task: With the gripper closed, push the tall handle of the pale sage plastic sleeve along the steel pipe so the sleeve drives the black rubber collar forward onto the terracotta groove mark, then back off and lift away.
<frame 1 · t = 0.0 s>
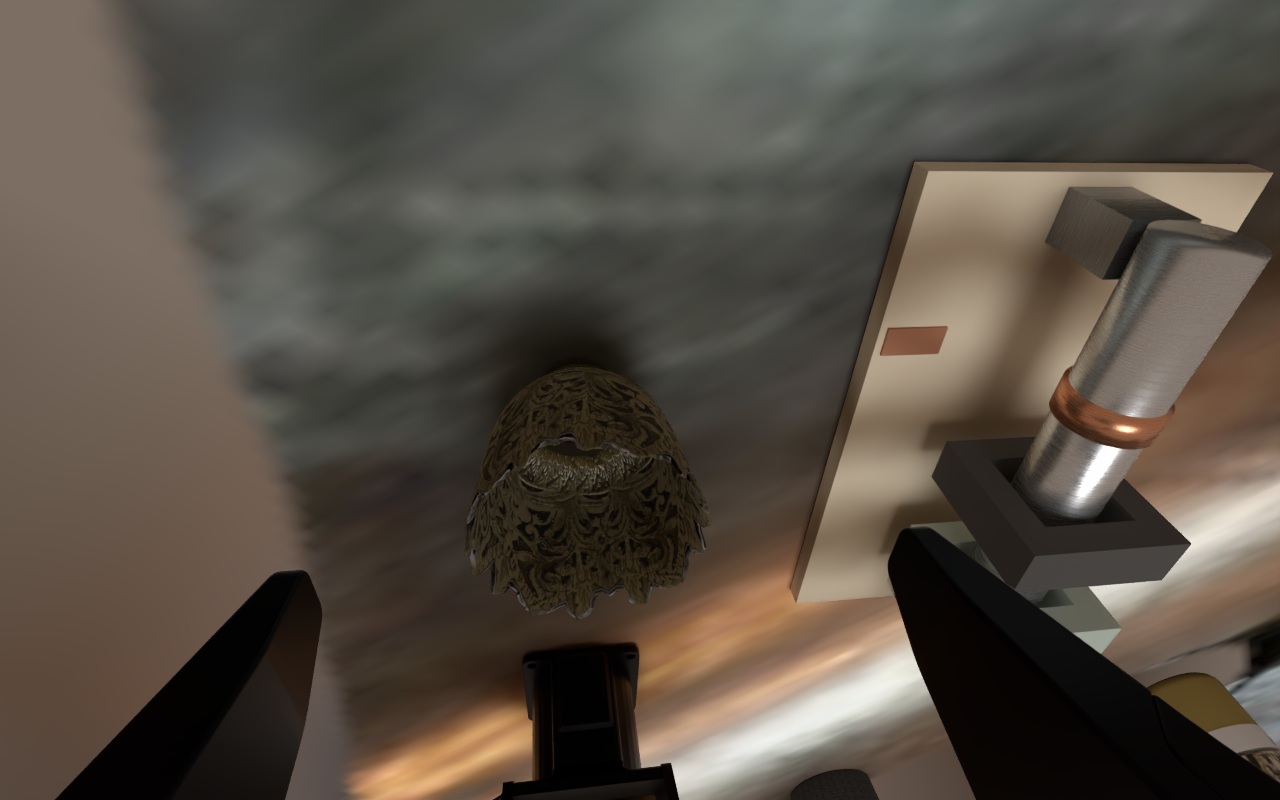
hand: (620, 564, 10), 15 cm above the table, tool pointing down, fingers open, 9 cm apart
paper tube: (1165, 689, 50), on the table
sleeve: (1011, 631, 28), point 7 cm above the table, slide at -6.0 cm
coffee cup: (829, 785, 53), on the table
rubber collar: (1048, 506, 25), point 6 cm above the table, slide at 0.0 cm
base board: (973, 419, 30), on the table
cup: (576, 387, 26), on the table
steel pipe: (1026, 481, 27), on the base board, point 4 cm above the table
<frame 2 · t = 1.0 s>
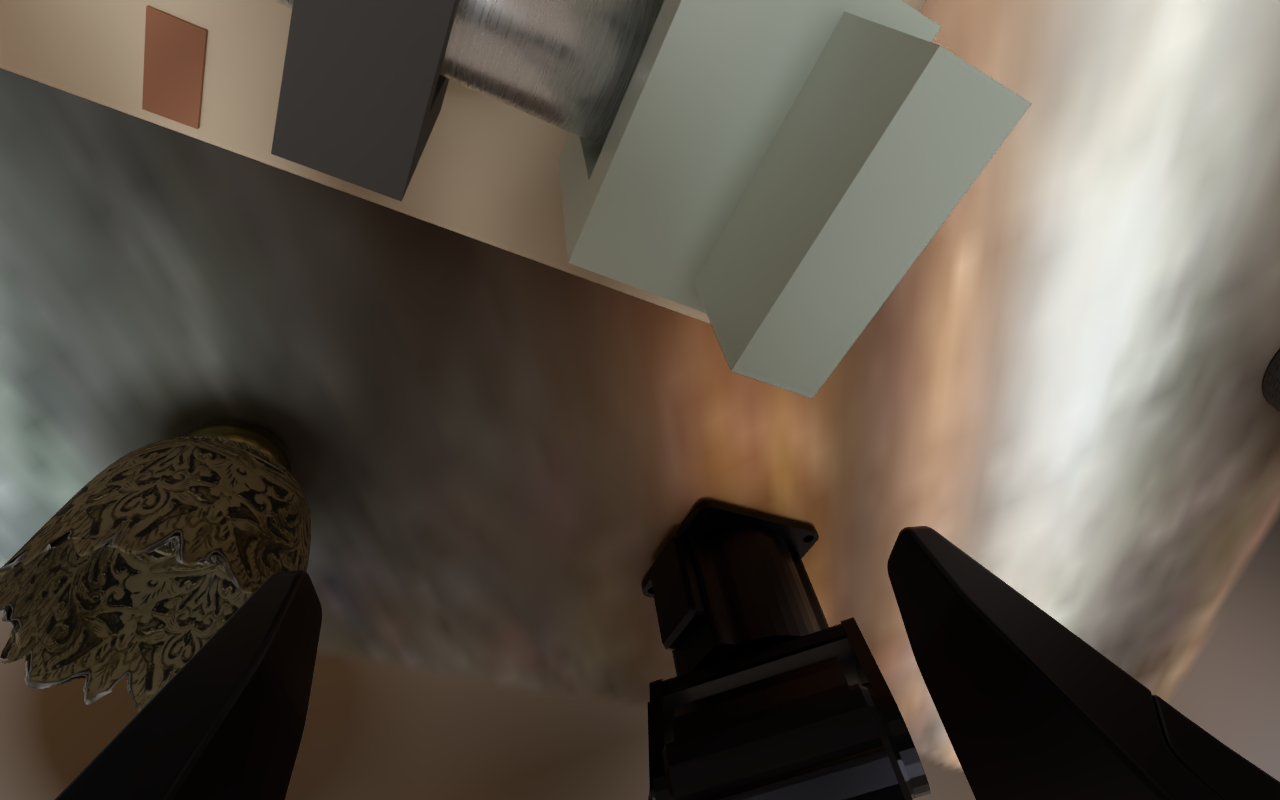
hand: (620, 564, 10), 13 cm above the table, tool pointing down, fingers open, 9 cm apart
sleeve: (721, 129, 12), point 7 cm above the table, slide at -6.0 cm
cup: (244, 446, 24), on the table
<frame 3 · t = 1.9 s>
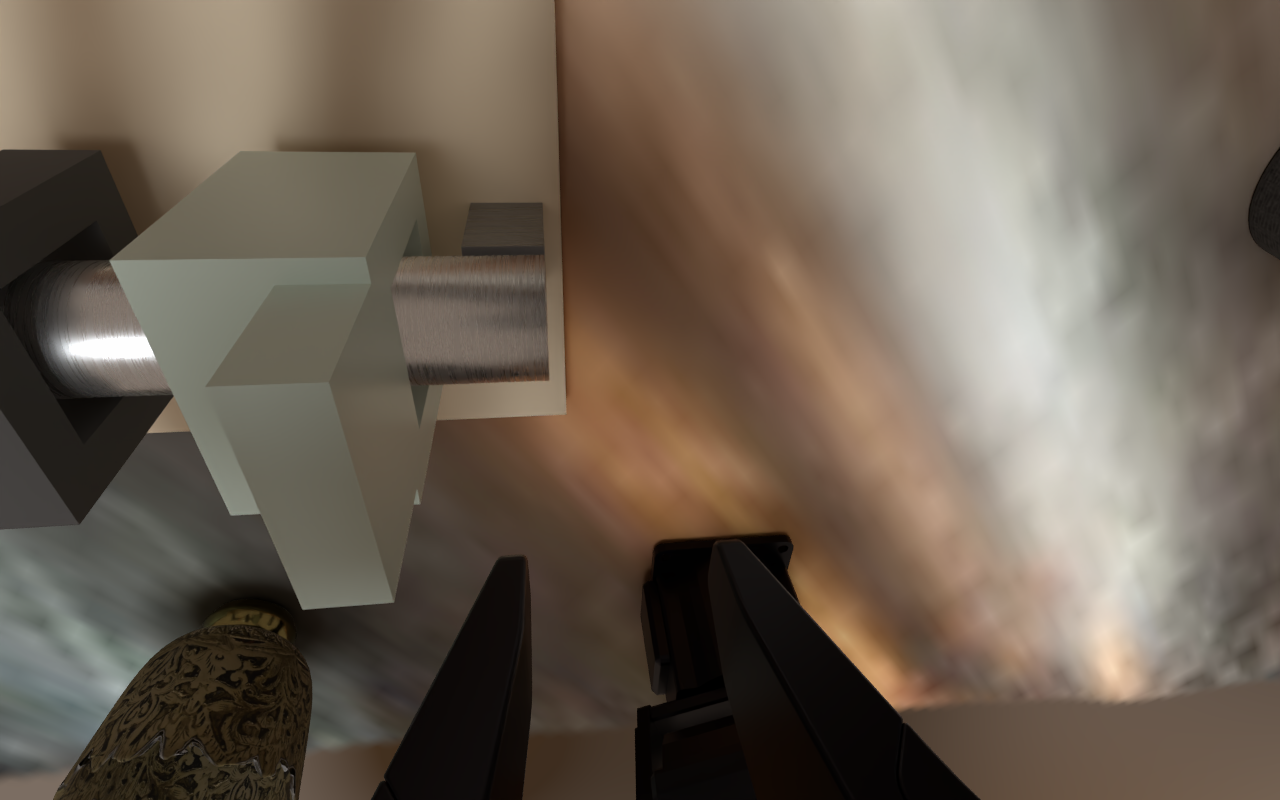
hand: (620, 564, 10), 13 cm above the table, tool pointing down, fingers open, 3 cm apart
sleeve: (310, 359, 14), point 7 cm above the table, slide at -6.0 cm
rubber collar: (40, 331, 14), point 5 cm above the table, slide at 0.0 cm
base board: (155, 231, 19), on the table
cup: (257, 613, 29), on the table
steel pipe: (76, 300, 15), on the base board, point 4 cm above the table
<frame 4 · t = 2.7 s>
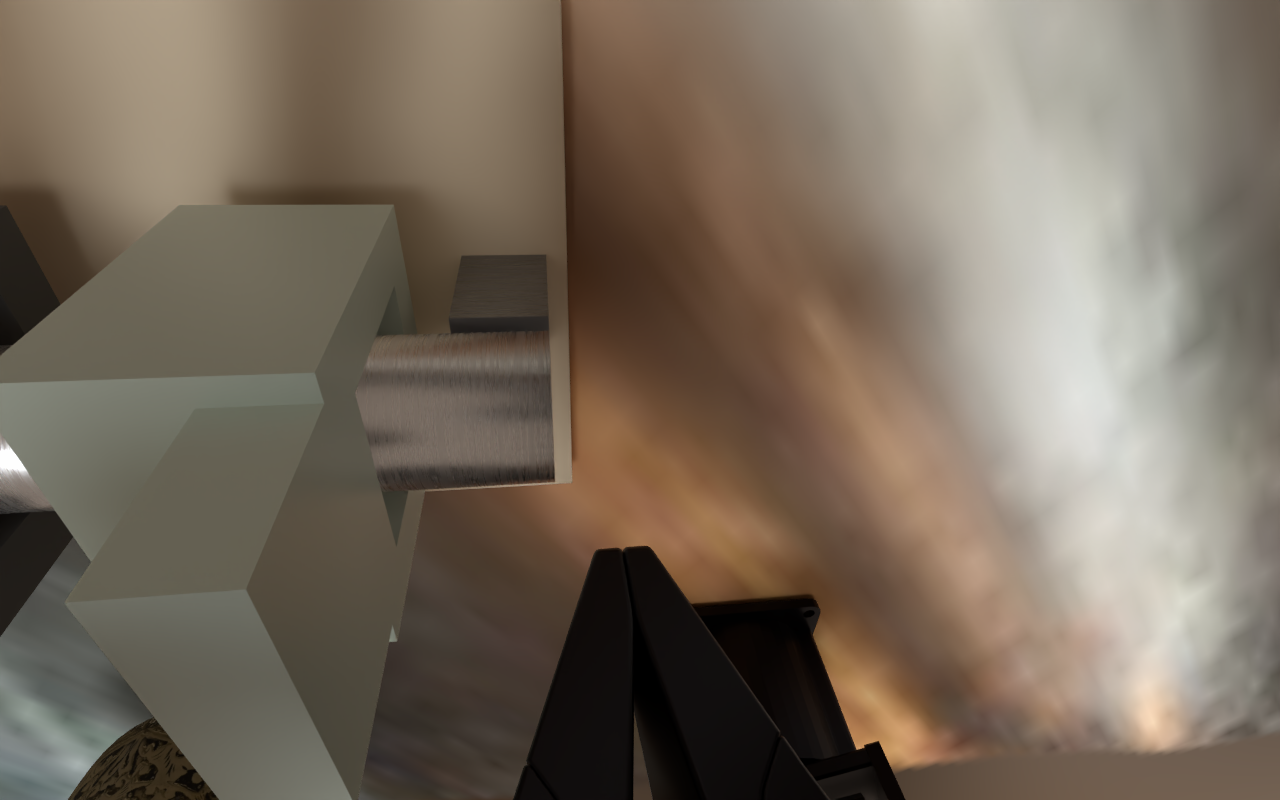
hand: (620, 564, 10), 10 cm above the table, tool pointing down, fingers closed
sleeve: (258, 472, 11), point 7 cm above the table, slide at -6.0 cm
base board: (92, 288, 16), on the table
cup: (229, 686, 27), on the table
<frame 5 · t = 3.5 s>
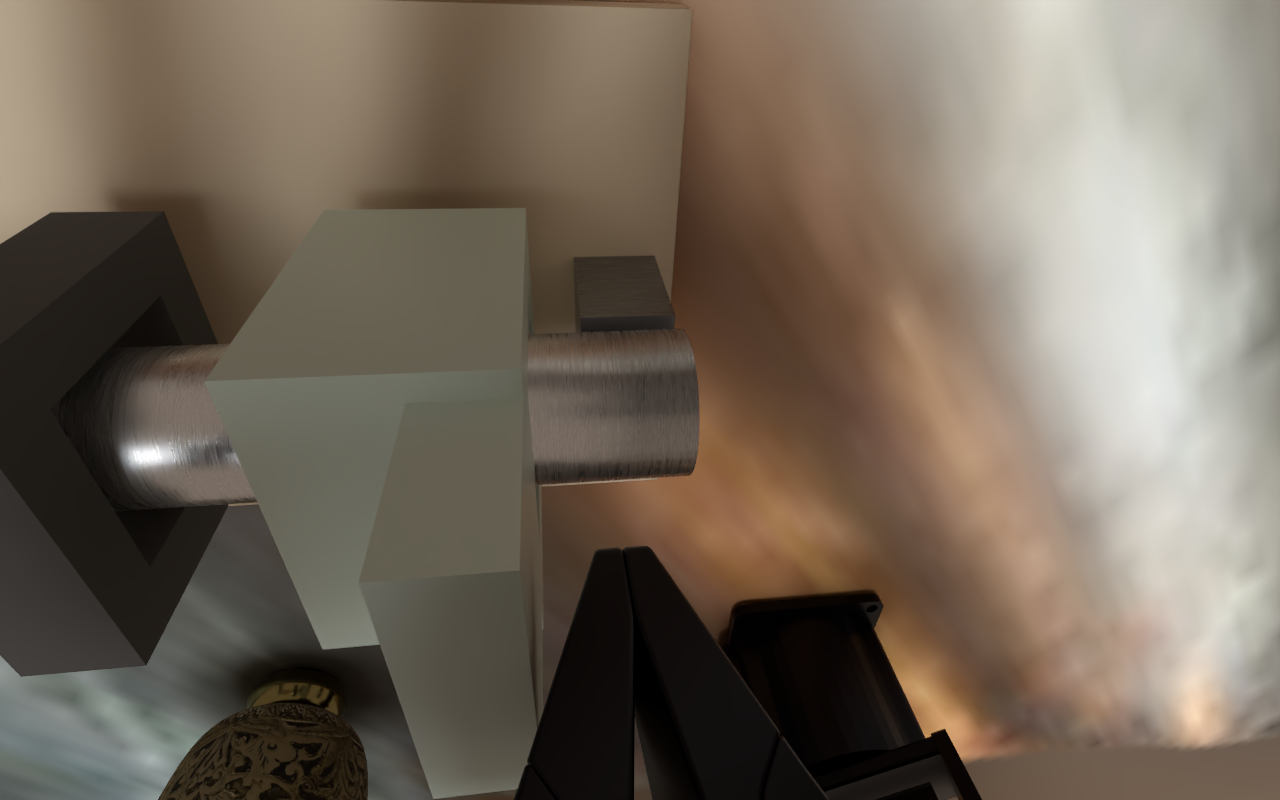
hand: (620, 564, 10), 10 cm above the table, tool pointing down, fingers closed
sleeve: (420, 466, 12), point 7 cm above the table, slide at -6.0 cm, touching gripper
rubber collar: (96, 430, 12), point 6 cm above the table, slide at 0.0 cm
base board: (213, 291, 16), on the table
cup: (304, 682, 27), on the table
steel pipe: (134, 385, 13), on the base board, point 4 cm above the table
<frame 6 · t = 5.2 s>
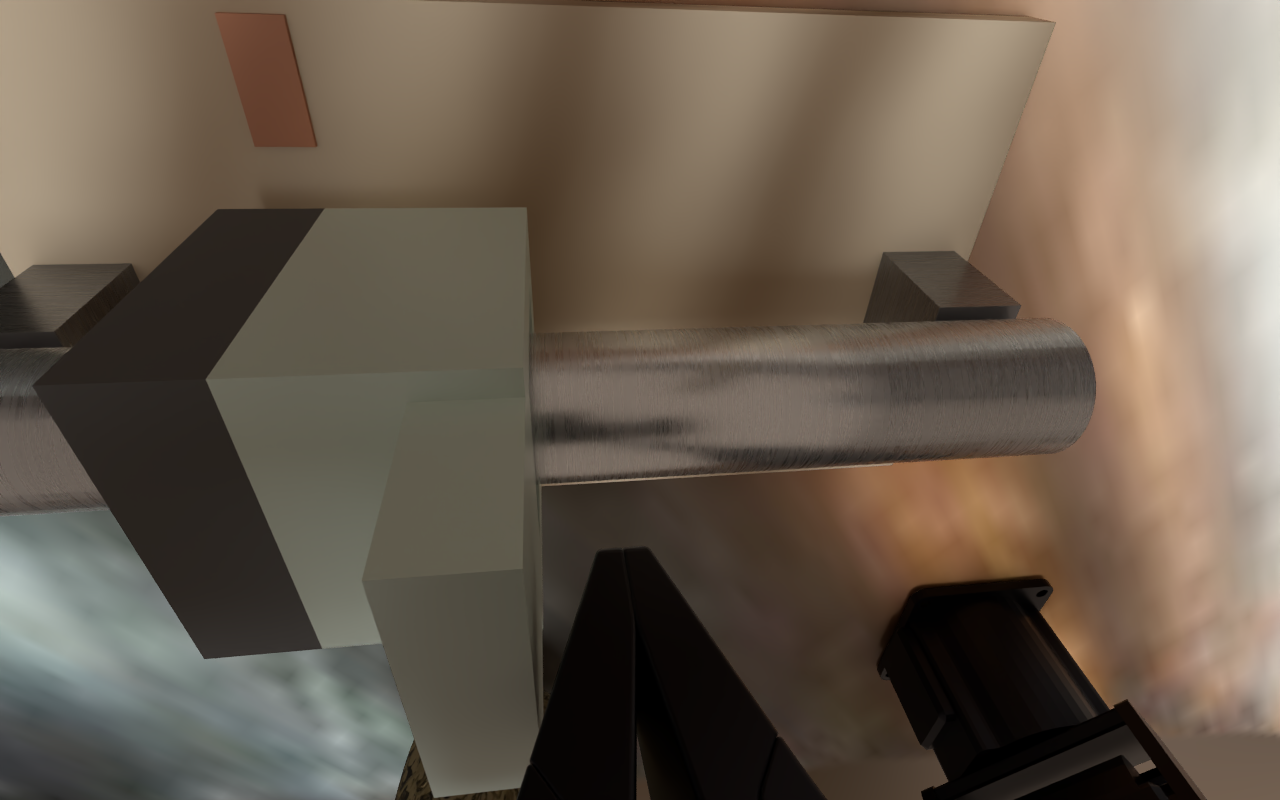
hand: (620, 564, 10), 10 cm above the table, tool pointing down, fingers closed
sleeve: (420, 465, 12), point 7 cm above the table, slide at 2.1 cm, touching gripper, rubber collar
rubber collar: (268, 420, 12), point 6 cm above the table, slide at 5.1 cm, touching sleeve
base board: (537, 283, 17), on the table
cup: (499, 663, 28), on the table
steel pipe: (538, 368, 14), on the base board, point 4 cm above the table
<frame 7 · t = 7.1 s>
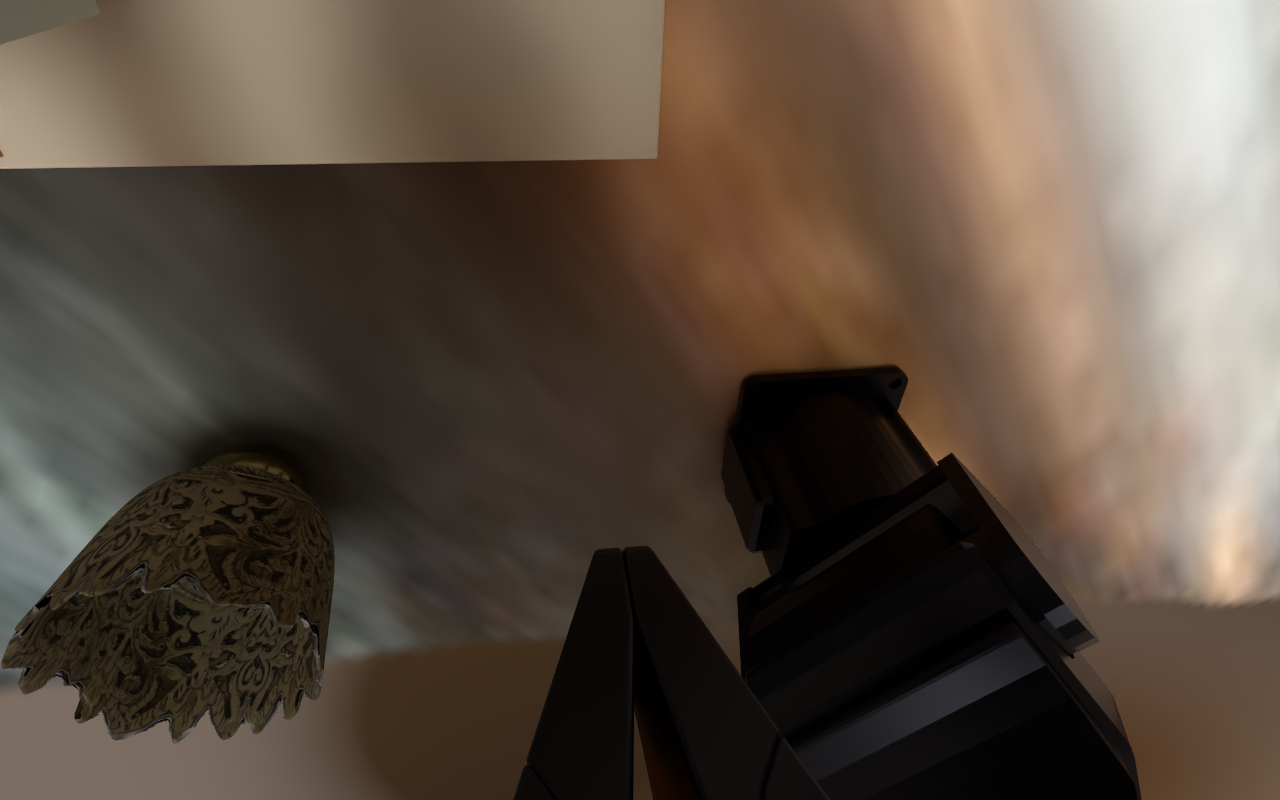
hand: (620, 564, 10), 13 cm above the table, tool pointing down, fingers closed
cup: (262, 470, 24), on the table
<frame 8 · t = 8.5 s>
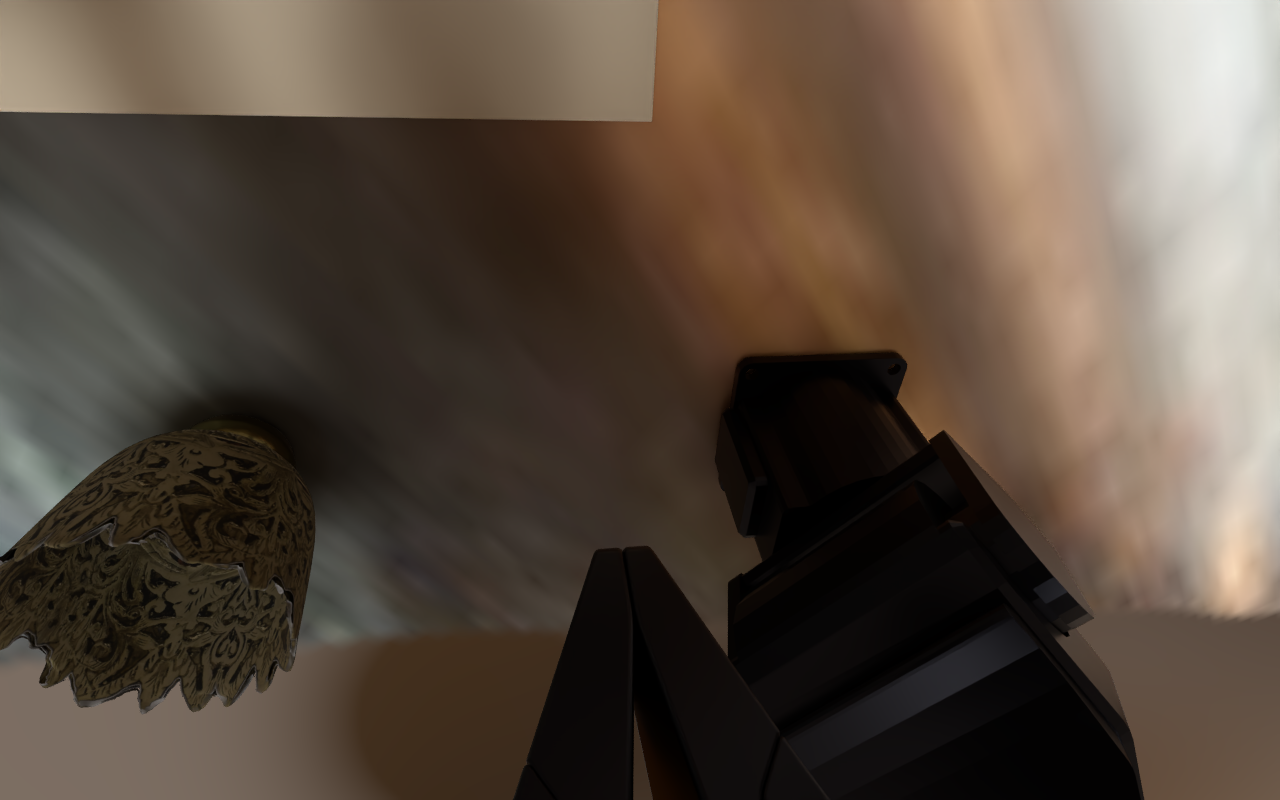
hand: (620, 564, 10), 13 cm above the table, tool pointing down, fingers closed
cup: (247, 441, 24), on the table
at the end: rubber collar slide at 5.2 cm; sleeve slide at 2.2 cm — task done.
